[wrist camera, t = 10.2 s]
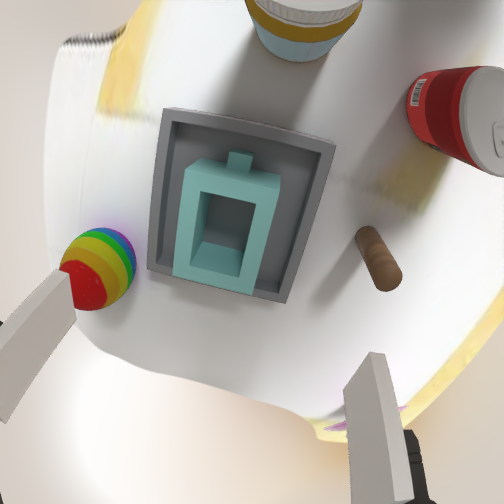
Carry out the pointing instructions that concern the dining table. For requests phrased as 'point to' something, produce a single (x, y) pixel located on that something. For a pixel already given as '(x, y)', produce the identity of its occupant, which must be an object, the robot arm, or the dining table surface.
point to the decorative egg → (99, 268)
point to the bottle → (302, 25)
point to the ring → (195, 213)
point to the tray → (234, 210)
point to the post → (378, 259)
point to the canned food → (461, 114)
